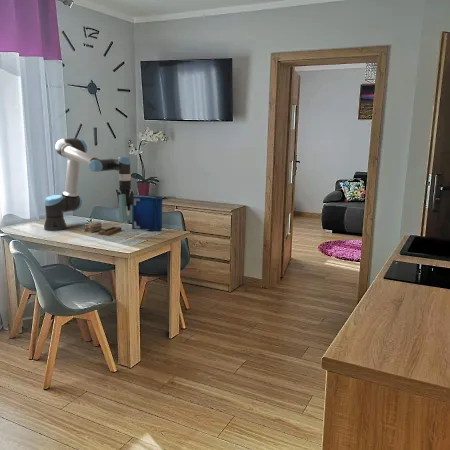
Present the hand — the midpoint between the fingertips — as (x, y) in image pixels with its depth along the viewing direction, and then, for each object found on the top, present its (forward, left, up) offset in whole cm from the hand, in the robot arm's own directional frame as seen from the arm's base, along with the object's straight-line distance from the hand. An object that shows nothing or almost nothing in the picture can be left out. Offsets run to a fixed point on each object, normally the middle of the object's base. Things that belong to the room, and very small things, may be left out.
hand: (125, 214), depth 299 cm
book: (+4, +21, -15) cm, 26 cm away
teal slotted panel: (0, 0, -4) cm, 4 cm away
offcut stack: (-27, 0, -15) cm, 31 cm away
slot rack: (-13, 0, -15) cm, 19 cm away
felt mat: (0, 0, -15) cm, 15 cm away
